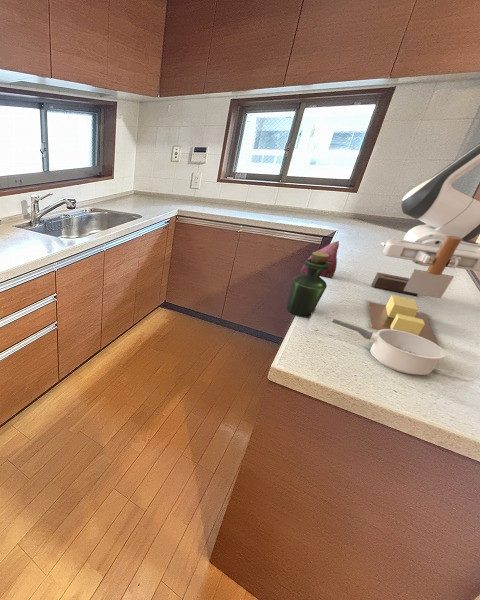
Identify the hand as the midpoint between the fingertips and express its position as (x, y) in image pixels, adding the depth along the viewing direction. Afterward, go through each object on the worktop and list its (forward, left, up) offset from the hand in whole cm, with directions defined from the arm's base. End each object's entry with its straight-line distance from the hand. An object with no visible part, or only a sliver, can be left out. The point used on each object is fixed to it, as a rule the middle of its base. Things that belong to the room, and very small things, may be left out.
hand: (441, 262), depth 77 cm
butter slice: (0, +3, -19) cm, 19 cm away
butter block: (0, -9, -19) cm, 21 cm away
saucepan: (+6, +17, -20) cm, 28 cm away
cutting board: (0, -5, -20) cm, 21 cm away
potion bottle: (+23, +5, -20) cm, 31 cm away
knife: (0, -1, -9) cm, 9 cm away
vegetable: (+21, -36, -20) cm, 46 cm away
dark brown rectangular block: (-1, -33, -20) cm, 39 cm away
